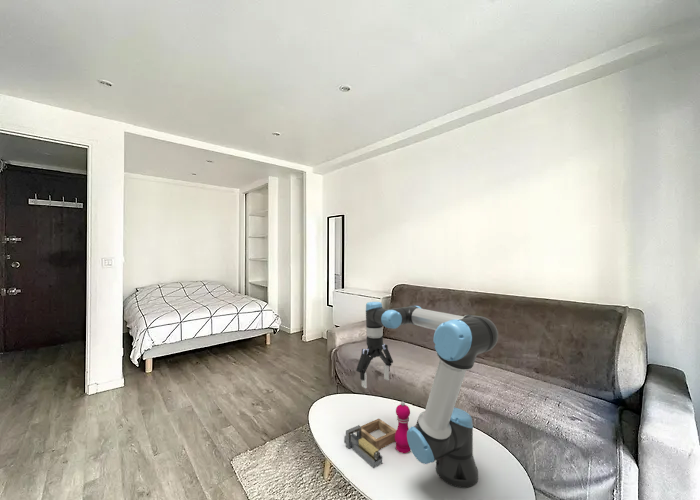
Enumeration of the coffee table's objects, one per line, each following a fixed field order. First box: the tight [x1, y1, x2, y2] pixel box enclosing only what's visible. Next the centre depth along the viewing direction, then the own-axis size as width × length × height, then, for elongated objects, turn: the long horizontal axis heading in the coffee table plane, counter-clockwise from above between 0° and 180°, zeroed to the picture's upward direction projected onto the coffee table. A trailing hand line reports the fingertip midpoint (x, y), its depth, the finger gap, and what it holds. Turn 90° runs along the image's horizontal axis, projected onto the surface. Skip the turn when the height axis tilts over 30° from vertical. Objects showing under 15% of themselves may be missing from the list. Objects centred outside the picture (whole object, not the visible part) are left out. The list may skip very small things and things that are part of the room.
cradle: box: [360, 418, 397, 450], centre depth 138 cm, size 13×13×4 cm
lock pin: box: [359, 438, 381, 460], centre depth 124 cm, size 11×3×3 cm, turn 36°
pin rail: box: [343, 424, 383, 469], centre depth 128 cm, size 20×7×7 cm, turn 36°
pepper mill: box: [395, 401, 411, 454], centre depth 130 cm, size 7×7×20 cm
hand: (375, 383), depth 139 cm, fingers open, 13 cm apart
